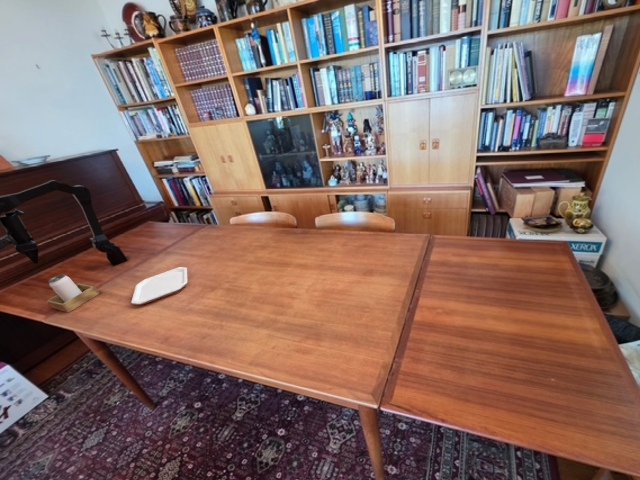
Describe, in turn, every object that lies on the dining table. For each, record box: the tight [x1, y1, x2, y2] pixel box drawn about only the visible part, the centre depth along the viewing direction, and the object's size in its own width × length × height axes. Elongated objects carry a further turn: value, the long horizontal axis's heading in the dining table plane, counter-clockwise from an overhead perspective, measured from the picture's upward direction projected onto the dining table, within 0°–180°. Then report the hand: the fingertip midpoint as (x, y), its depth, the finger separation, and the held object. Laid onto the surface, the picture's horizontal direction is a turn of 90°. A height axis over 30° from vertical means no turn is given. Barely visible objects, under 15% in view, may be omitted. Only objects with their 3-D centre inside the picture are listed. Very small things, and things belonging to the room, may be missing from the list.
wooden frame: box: [46, 283, 100, 313], centre depth 126 cm, size 12×12×4 cm
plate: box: [130, 266, 188, 306], centre depth 124 cm, size 21×21×2 cm
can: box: [47, 274, 82, 303], centre depth 124 cm, size 6×6×12 cm
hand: (35, 261), depth 131 cm, fingers open, 9 cm apart
